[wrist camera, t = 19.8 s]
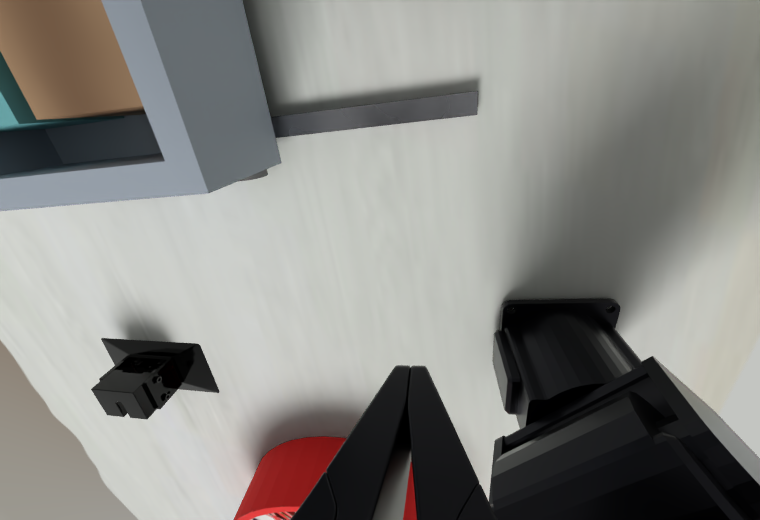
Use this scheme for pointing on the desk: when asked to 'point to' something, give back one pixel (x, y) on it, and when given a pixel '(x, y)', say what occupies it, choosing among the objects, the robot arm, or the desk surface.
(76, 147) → the box
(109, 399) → the black plastic bracket
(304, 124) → the rails
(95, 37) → the tan cube
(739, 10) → the desk surface
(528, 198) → the desk surface
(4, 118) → the teal block
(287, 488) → the toy clock
